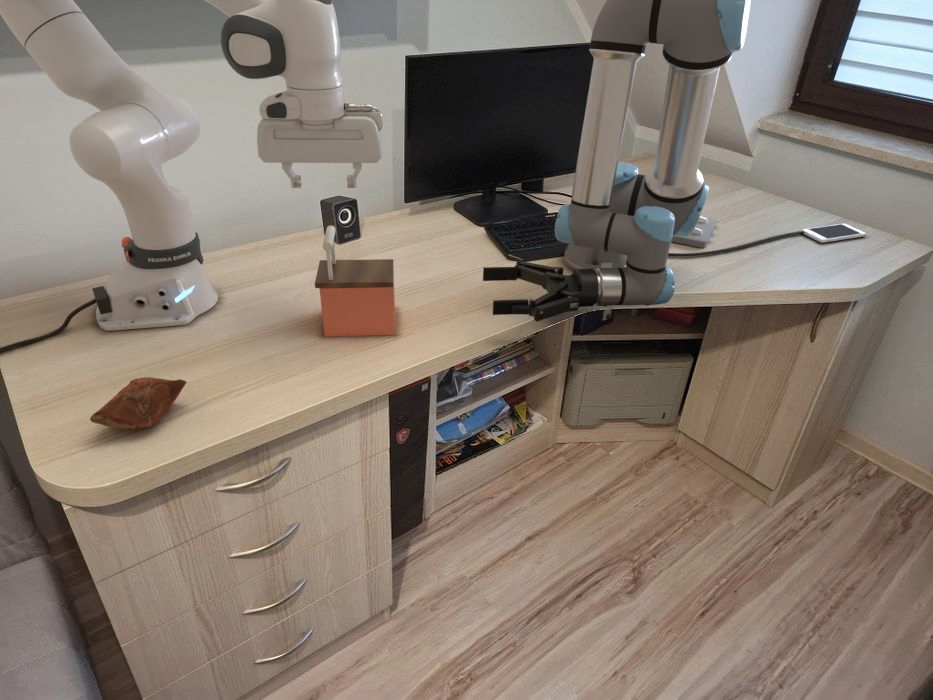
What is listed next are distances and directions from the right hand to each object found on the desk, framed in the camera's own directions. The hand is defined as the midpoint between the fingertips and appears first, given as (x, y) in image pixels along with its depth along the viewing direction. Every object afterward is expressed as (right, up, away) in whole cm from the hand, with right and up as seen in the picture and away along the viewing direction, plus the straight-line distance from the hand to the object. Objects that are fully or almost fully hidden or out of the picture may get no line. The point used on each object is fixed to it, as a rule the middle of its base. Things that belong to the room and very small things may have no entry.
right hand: (487, 290), depth 124 cm
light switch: (+53, +20, +46) cm, 73 cm away
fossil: (-54, -23, -24) cm, 63 cm away
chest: (-25, -6, +2) cm, 26 cm away
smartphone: (+94, +19, +47) cm, 107 cm away
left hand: (-29, +17, -13) cm, 36 cm away
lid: (-25, +2, -3) cm, 25 cm away
